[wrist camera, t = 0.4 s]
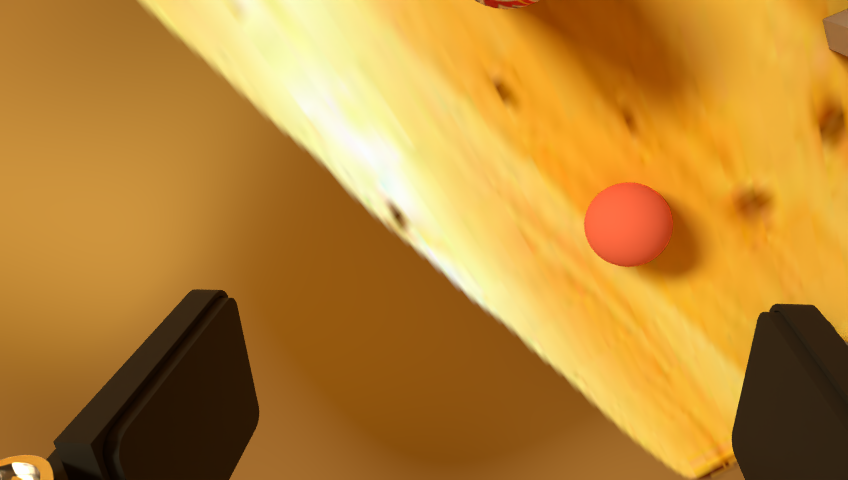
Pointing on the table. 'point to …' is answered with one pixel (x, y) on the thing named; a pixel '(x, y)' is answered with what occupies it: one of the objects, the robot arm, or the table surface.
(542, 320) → the table surface
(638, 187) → the ball
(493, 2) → the soda can
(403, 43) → the table surface
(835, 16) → the bridge
